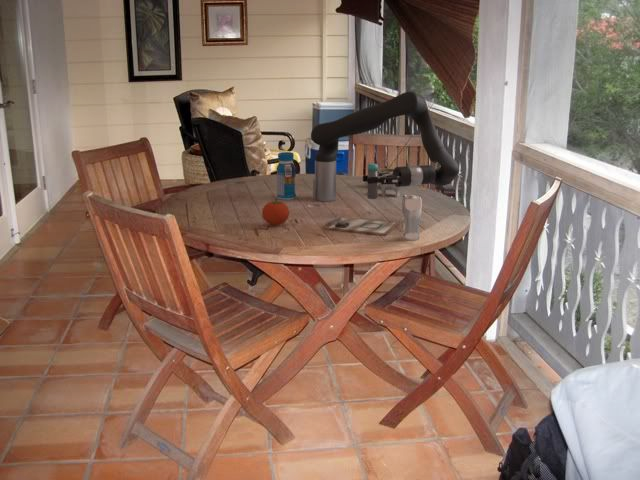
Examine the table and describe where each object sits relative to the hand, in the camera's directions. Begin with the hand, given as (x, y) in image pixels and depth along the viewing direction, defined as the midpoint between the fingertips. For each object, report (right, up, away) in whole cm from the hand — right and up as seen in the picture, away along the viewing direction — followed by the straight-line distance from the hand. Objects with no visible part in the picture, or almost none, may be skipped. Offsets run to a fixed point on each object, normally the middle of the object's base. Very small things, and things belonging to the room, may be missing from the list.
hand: (365, 179), depth 246 cm
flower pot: (+14, +2, +73) cm, 75 cm away
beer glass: (+15, -22, -8) cm, 28 cm away
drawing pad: (-1, -17, +7) cm, 18 cm away
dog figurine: (+17, -2, +58) cm, 60 cm away
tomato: (-33, -17, +10) cm, 38 cm away
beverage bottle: (-31, -4, +53) cm, 62 cm away
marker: (+3, -7, +3) cm, 8 cm away
